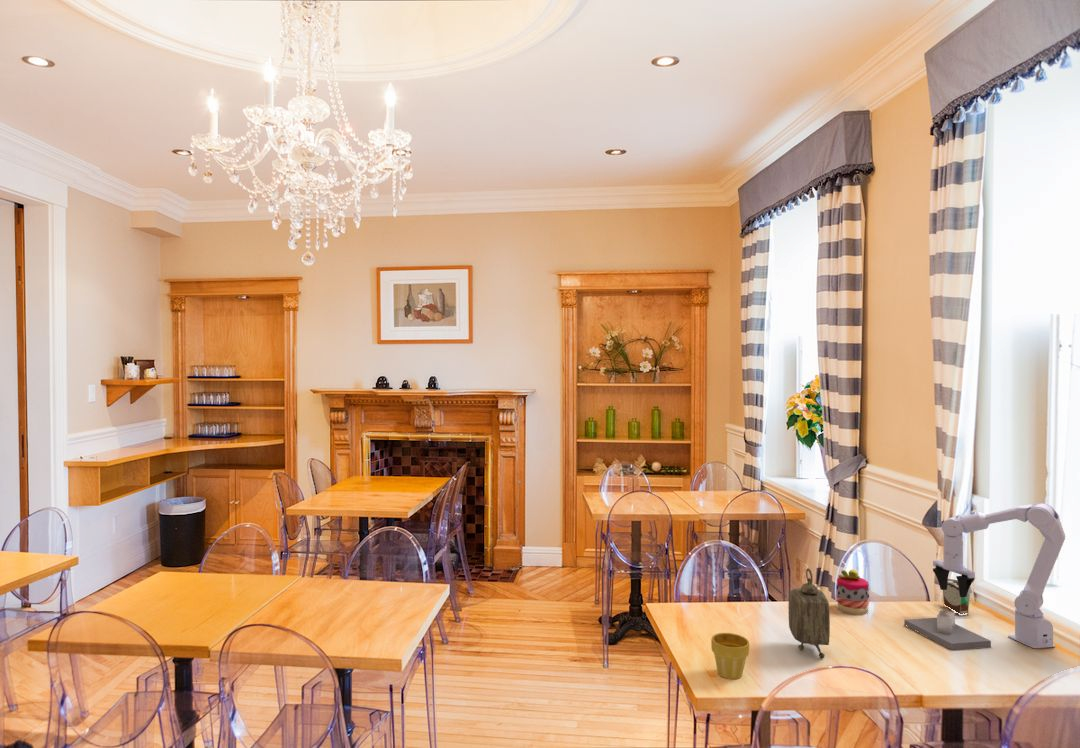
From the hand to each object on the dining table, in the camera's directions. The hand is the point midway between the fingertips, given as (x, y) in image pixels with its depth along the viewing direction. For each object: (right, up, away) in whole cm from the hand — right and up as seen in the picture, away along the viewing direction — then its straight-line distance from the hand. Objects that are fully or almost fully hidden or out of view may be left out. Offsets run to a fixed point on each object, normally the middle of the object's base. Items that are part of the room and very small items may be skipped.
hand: (953, 593), depth 220 cm
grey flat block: (-9, -10, -11) cm, 17 cm away
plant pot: (-88, -10, -38) cm, 96 cm away
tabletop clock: (-59, -10, -22) cm, 64 cm away
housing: (-9, -8, -10) cm, 16 cm away
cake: (-28, -11, +12) cm, 33 cm away
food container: (+10, -11, +12) cm, 19 cm away
